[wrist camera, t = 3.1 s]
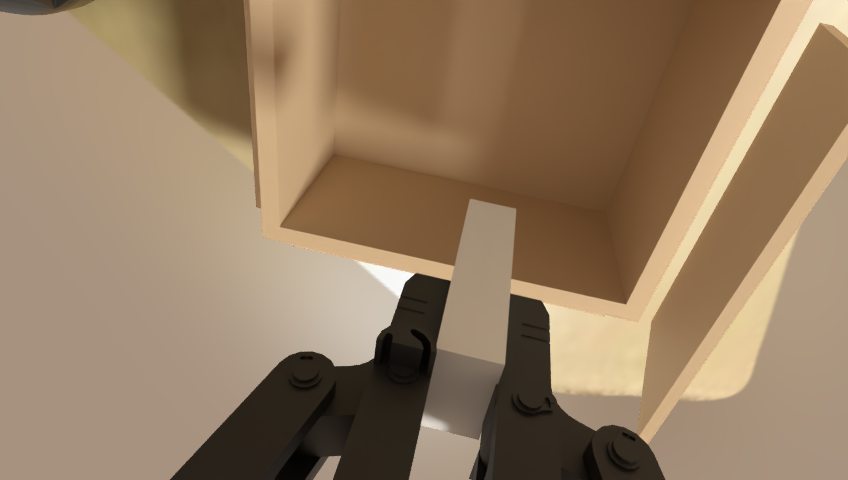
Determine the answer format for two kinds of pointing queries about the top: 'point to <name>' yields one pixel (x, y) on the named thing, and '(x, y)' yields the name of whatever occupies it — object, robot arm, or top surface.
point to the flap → (751, 222)
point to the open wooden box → (505, 129)
